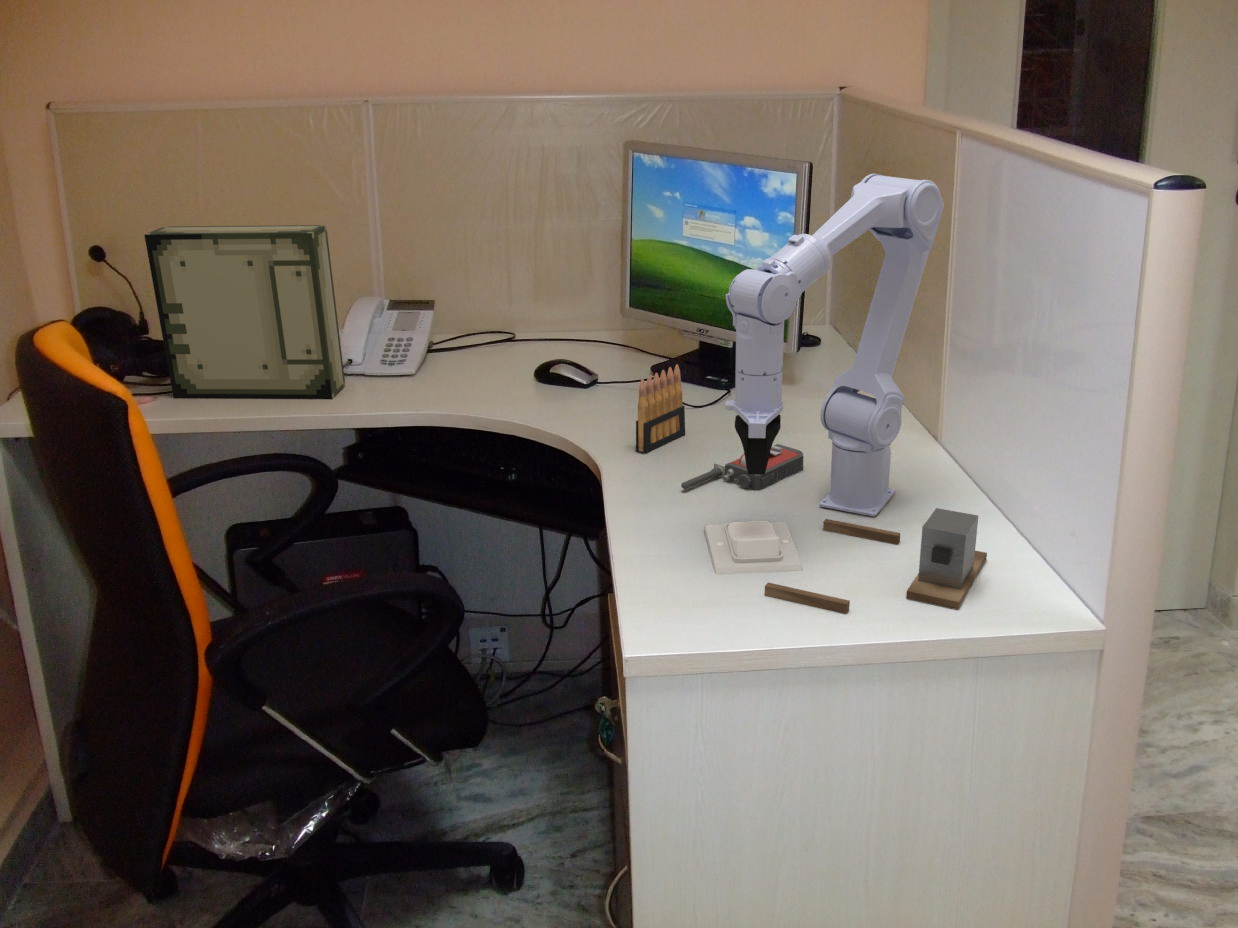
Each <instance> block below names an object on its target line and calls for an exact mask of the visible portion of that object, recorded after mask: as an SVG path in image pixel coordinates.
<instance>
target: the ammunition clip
mask: <svg viewBox="0 0 1238 928" xmlns="http://www.w3.org/2000/svg"><path fill="white" fill-rule="evenodd" d="M681 377H682V376H681V369H680V367H679V364H678V363H677V364H675V367H674V370H673V369H672V367H671V366H669V368H668V369H667V374H666V370H665V369H662V370H661V372H660V377H659V374H658V372H655V374H654V376H653V378H652V377H651V375H648V376H647V379H646V381H645V380H644V378H643V377H642V378H641V379H640V383H639V387H638V388H639V389H638V400H637V401H638V403H637V420H635V452H636V453H639V454H644V455H647V454H649V453H651V452H653V451H656V450H657V449H659V448H661V447H663V446H666V445H667V444H669V443H673V442H675V440H678V439H680V438H682V437H684V436H686V418H685V417H686V416H685V415H686V413H685V412H686V410H685V405H684V404H683V387H682V378H681Z"/></svg>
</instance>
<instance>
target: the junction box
mask: <svg viewBox="0 0 1238 928" xmlns="http://www.w3.org/2000/svg"><path fill="white" fill-rule="evenodd" d="M978 524H979V515H978V514H973V513H967V512H966V513H965V512H960V511H955V510H950V509H944V508H940V507H939V508H938V507H935V509H934V510H933V511H932V513H931V515H930V516H929V517H928V519H927V520H926V521H925V523H924V524H923V526H922V527H921V529H922V530H921V539H920V540H921V542H920V551H919V552H920V555H919V566H918V567H919V568H918V573H919V576H918V581H921V582H926V583H931V584H935V585H940V586H945V587H950V588H955V589H959V590H961V589H962V587H963V585H964V584H965V582H966V580H967V579H968V577H969V575H970V573H971V572H972V570H973V566H974V556H975V551H976V545H977V536H978Z"/></svg>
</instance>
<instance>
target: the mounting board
mask: <svg viewBox="0 0 1238 928" xmlns="http://www.w3.org/2000/svg"><path fill="white" fill-rule="evenodd" d="M987 556H988V552H985V551H980V550H975V556H974V566H973V570H972V572H971V573H970V575H969V577H968V579H967V580H966V582H965V584H964V585H963V587H962V589H961V590H959V589H955V588H950V587H945V586H940V585H935V584H931V583H926V582H921V581H918V576H919V572H918V573H917V575H916V576H915V578H914V579H913V580H912V582H911V583H910V585H909V587H908V588H907V589H906V594H905V596H906V597H905V599H908V600H912V601H917V602H920V603H925V604H930V605H934V606H938V607H939V606H940V607H944V608H949V609H954V610H956V611H957V610H959V609H960V608H961V605H962V604H963V602H964V600H965V598H966V597H967V595H968V593H969V592H970V590H971V588H972V586H973V584H974V583H975V581H976V579H977V577H978V575H979V574H980V571H981V570H982V568H983V567H984V565H985V563H986V562H987Z"/></svg>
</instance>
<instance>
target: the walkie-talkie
mask: <svg viewBox="0 0 1238 928" xmlns="http://www.w3.org/2000/svg"><path fill="white" fill-rule="evenodd" d="M803 470H804V452H802V451H801V450H800V449H796V448H792V447H789V446H786V445H784V444H783V445H782V444H779V443H776V444H772V447H771V450H770V455H769V460H768V464H767V468H766V472H765V474H764V475H762V474H748V471H747V467H746V461H745V455H744V453H743V454H741V455H733V456H731V457H729V458H726V459H723V460H721V461H716V462H715V463H713V468H711V470H709V471H708V472H705V473H702V474H700V475H697V476H695V477H693V478H691V479H688V480H686V481H684V482H682V483H681V485H680V487H681V488H682V489H683V490H686V489H690V488H691V487H694V486H696V485H699V484H701V483H703V482H705V481H708V480H711V479H713V478H715V479H716V478H718V477H719V478H721V479H722V480H723V482H725V483H726V482H728V483H732V484H735V485H738V486H740V487H741V488H743V489H750V490H753V491H761V490H763V489H765V488H768V487H770V486H771V485H772V486H773V485H774V484H777V483H778V482H781V481H783V480H784V479H786V478H790V477H791V476H793V475H796V474H797V473H799V472H800V473H801V472H802V471H803Z"/></svg>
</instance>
